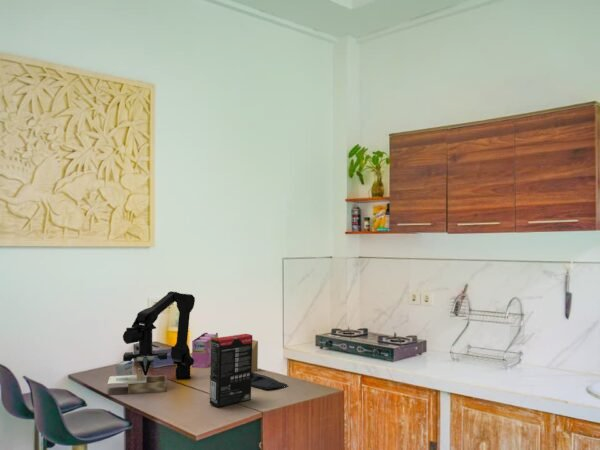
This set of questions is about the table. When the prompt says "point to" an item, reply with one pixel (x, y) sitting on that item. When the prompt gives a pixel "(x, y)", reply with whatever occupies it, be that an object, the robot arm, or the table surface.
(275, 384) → the dark slate chunk
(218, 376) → the graphics card box
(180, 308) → the robot arm
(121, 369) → the medicine box
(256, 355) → the sandwich container
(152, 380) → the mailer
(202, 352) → the gum box
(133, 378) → the lid
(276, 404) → the table surface
